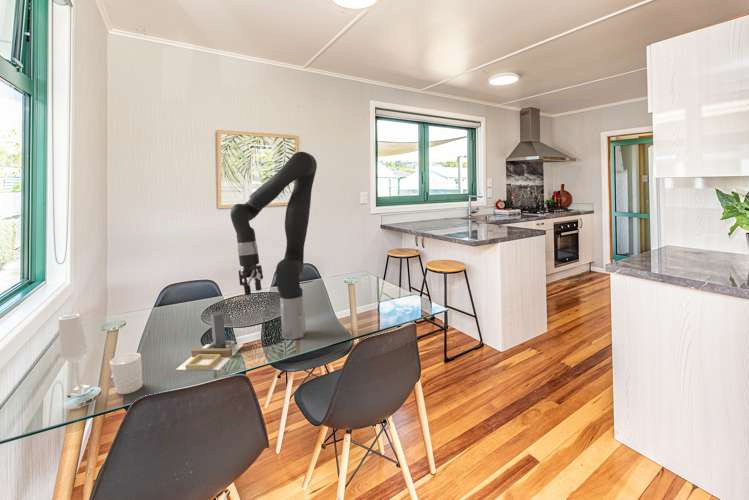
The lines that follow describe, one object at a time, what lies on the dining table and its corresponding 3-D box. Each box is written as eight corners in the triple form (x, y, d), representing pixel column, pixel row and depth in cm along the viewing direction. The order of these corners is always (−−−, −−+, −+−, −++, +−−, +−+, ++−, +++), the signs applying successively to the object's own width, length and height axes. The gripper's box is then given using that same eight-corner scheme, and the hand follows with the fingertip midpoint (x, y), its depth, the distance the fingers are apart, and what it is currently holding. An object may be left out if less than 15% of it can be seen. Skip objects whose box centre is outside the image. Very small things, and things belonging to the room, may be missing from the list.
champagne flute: (60, 396, 107) (47, 320, 103) (82, 385, 114) (70, 312, 110) (79, 398, 106) (67, 321, 102) (100, 386, 112) (89, 313, 109)
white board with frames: (206, 346, 141) (205, 338, 140) (244, 346, 140) (243, 338, 140) (175, 372, 121) (174, 362, 120) (219, 372, 120) (218, 362, 119)
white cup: (126, 382, 115) (122, 352, 113) (150, 381, 115) (146, 352, 113) (107, 395, 107) (103, 364, 106) (133, 395, 107) (129, 364, 105)
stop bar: (223, 346, 139) (219, 311, 136) (226, 349, 136) (223, 313, 134) (213, 348, 136) (210, 313, 134) (216, 351, 134) (213, 315, 131)
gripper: (247, 254, 137) (253, 296, 139) (265, 250, 151) (270, 288, 153) (229, 256, 139) (235, 297, 140) (249, 252, 153) (254, 289, 154)
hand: (253, 292), depth 146 cm, fingers open, 8 cm apart
